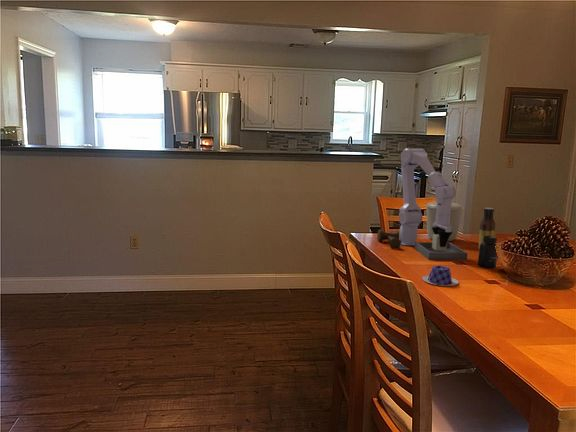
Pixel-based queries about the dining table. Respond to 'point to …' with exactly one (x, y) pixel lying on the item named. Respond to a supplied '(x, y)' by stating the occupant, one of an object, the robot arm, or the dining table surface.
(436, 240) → the beige block
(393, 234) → the kendama
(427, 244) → the tray
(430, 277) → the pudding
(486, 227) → the sauce bottle
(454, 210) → the canister
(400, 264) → the dining table surface
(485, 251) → the supplement bottle
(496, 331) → the dining table surface
